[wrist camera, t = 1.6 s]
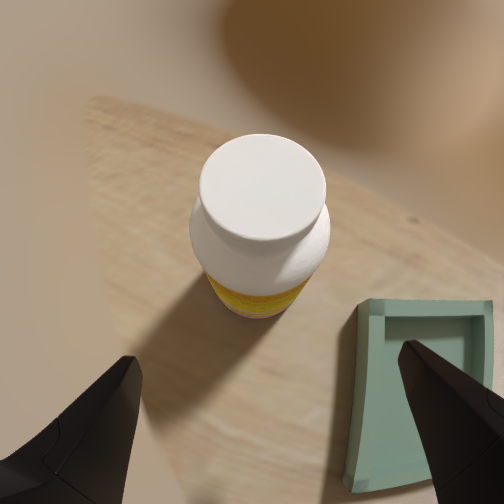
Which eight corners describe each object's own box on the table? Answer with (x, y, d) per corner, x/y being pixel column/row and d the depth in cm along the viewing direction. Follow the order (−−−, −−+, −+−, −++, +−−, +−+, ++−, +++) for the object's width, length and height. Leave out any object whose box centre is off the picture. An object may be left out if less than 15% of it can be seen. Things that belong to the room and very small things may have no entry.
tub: (464, 456, 17) (480, 461, 15) (341, 481, 17) (351, 493, 15) (475, 306, 22) (492, 300, 19) (357, 304, 22) (369, 298, 20)
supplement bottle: (313, 304, 22) (382, 241, 10) (226, 330, 21) (193, 299, 9) (284, 224, 24) (311, 105, 12) (203, 247, 24) (159, 139, 11)
